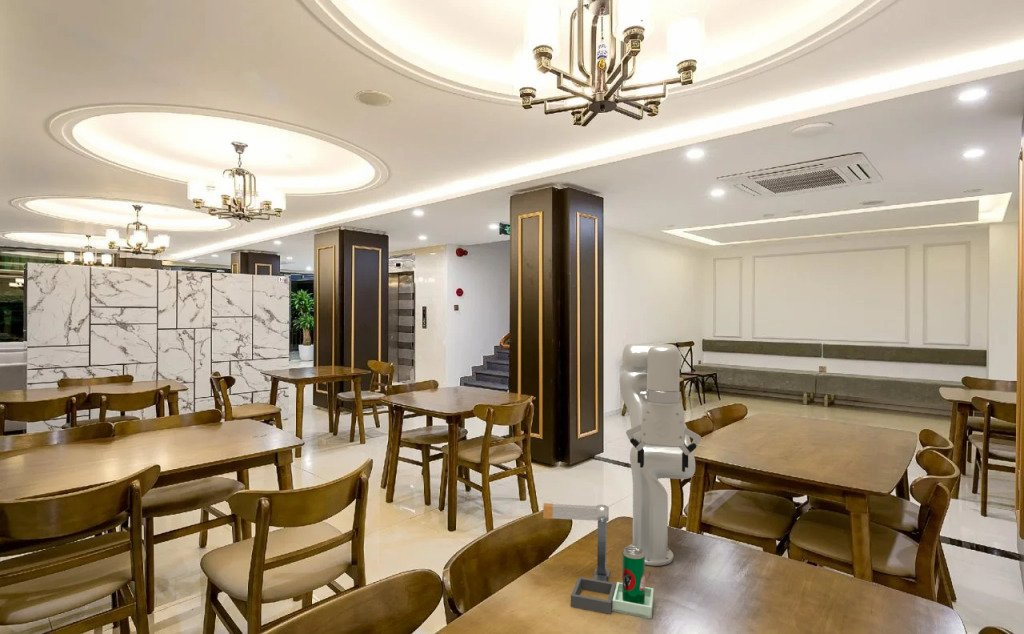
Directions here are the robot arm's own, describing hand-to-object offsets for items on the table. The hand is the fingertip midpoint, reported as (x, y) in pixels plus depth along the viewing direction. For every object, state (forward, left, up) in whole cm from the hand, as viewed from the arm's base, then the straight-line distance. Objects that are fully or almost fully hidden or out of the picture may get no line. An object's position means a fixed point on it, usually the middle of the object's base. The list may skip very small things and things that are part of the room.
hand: (662, 468), depth 121 cm
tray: (+7, -6, -30) cm, 32 cm away
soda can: (+7, -6, -30) cm, 31 cm away
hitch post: (-1, -15, -30) cm, 34 cm away
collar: (+8, -15, -30) cm, 35 cm away
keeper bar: (-2, -22, -16) cm, 27 cm away
